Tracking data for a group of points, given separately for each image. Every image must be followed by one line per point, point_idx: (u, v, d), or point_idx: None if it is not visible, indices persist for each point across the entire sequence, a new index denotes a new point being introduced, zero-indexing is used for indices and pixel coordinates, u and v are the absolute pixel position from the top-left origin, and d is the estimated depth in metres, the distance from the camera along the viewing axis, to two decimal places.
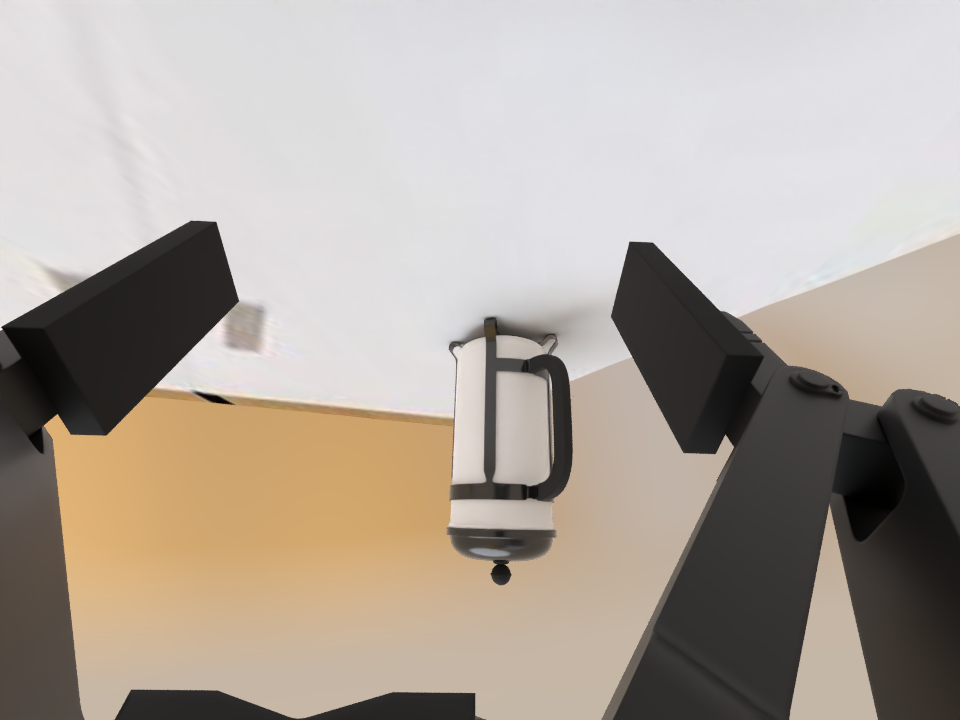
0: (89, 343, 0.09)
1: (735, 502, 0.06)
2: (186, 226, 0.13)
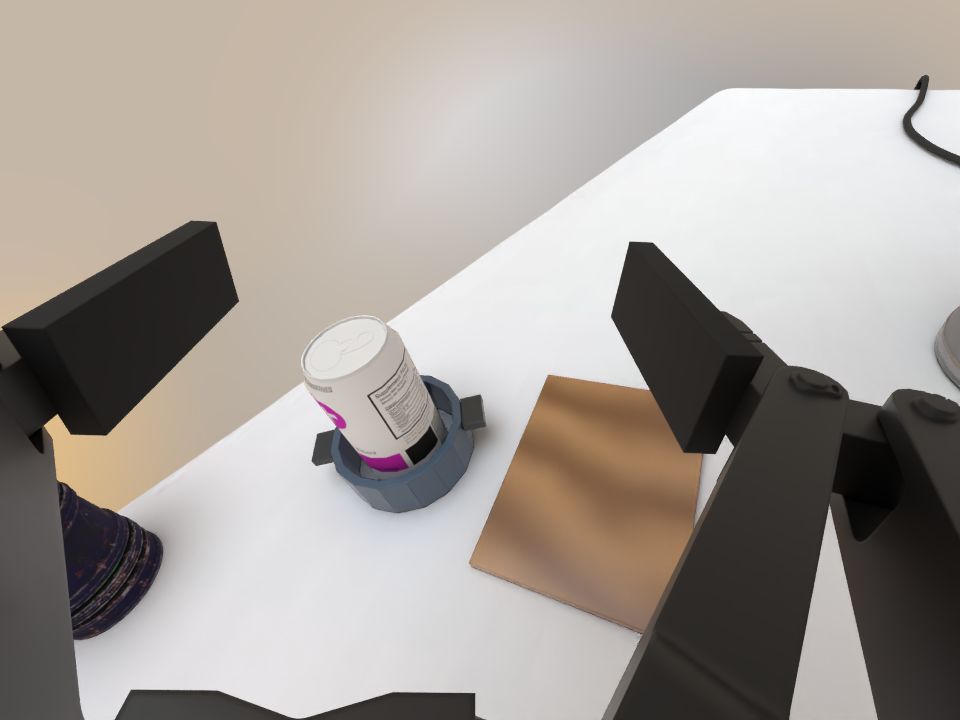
0: (89, 343, 0.09)
1: (734, 502, 0.06)
2: (186, 226, 0.13)
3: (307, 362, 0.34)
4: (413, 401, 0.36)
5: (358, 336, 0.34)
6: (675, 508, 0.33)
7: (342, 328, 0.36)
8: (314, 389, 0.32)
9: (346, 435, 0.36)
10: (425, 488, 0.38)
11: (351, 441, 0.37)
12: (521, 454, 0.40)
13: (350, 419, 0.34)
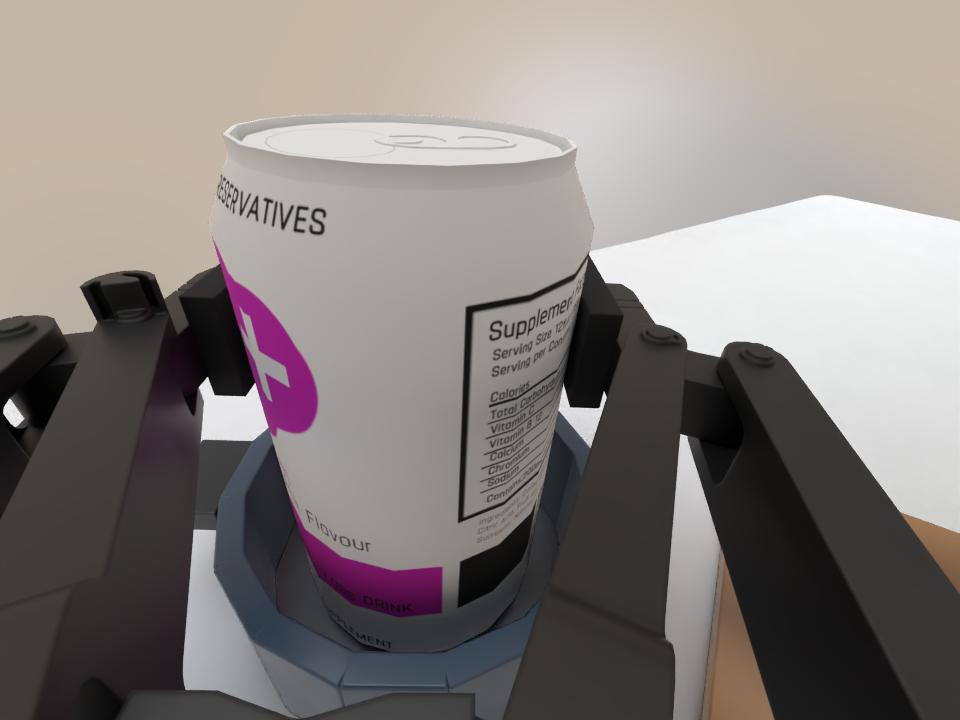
0: None
1: (606, 452, 0.06)
2: None
3: (253, 138, 0.09)
4: (551, 412, 0.11)
5: (459, 138, 0.10)
6: None
7: (399, 126, 0.11)
8: (242, 217, 0.07)
9: (293, 461, 0.10)
10: (484, 705, 0.11)
11: (300, 487, 0.11)
12: (738, 642, 0.15)
13: (344, 398, 0.08)
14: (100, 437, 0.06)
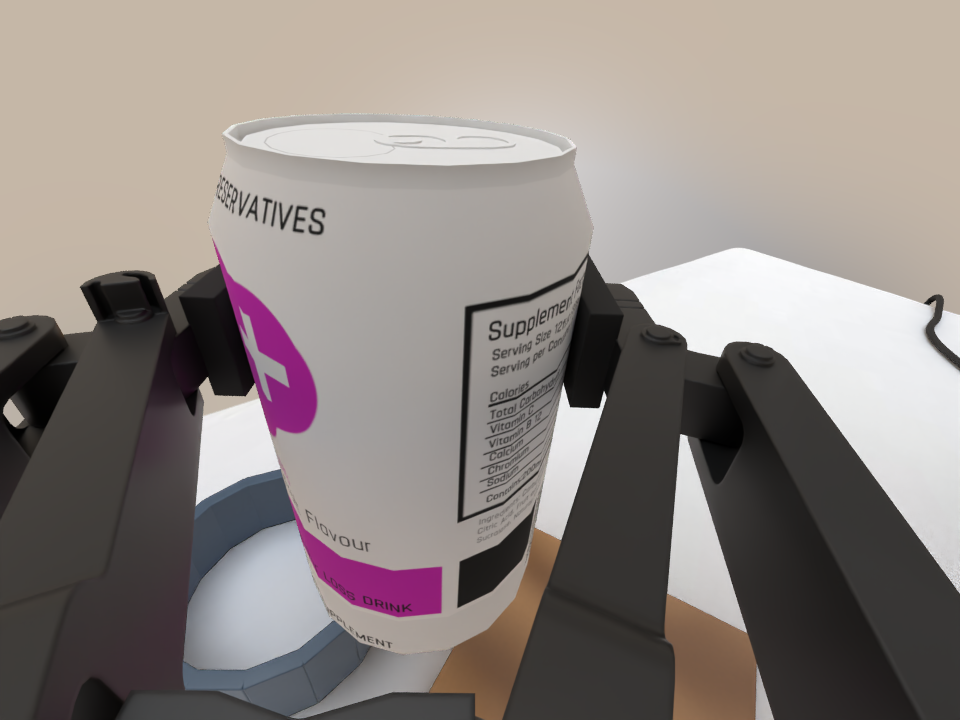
0: None
1: (606, 452, 0.06)
2: None
3: (252, 138, 0.09)
4: (550, 412, 0.11)
5: (458, 138, 0.10)
6: None
7: (399, 126, 0.11)
8: (242, 217, 0.07)
9: (292, 461, 0.10)
10: (277, 698, 0.21)
11: (300, 486, 0.11)
12: (459, 660, 0.24)
13: (343, 398, 0.08)
14: (100, 437, 0.06)
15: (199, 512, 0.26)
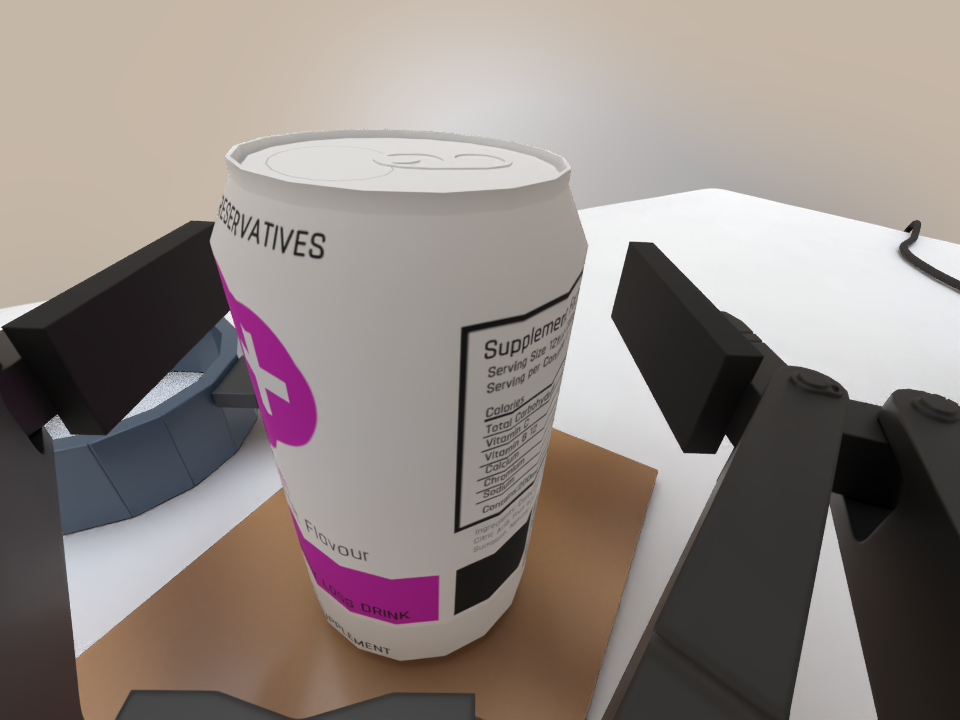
0: (89, 343, 0.09)
1: (735, 502, 0.06)
2: (186, 226, 0.13)
3: (254, 158, 0.09)
4: (546, 424, 0.11)
5: (455, 156, 0.10)
6: (556, 667, 0.15)
7: (398, 142, 0.12)
8: (244, 239, 0.07)
9: (292, 473, 0.10)
10: (65, 491, 0.18)
11: (299, 497, 0.11)
12: None
13: (342, 414, 0.08)
14: None
15: None
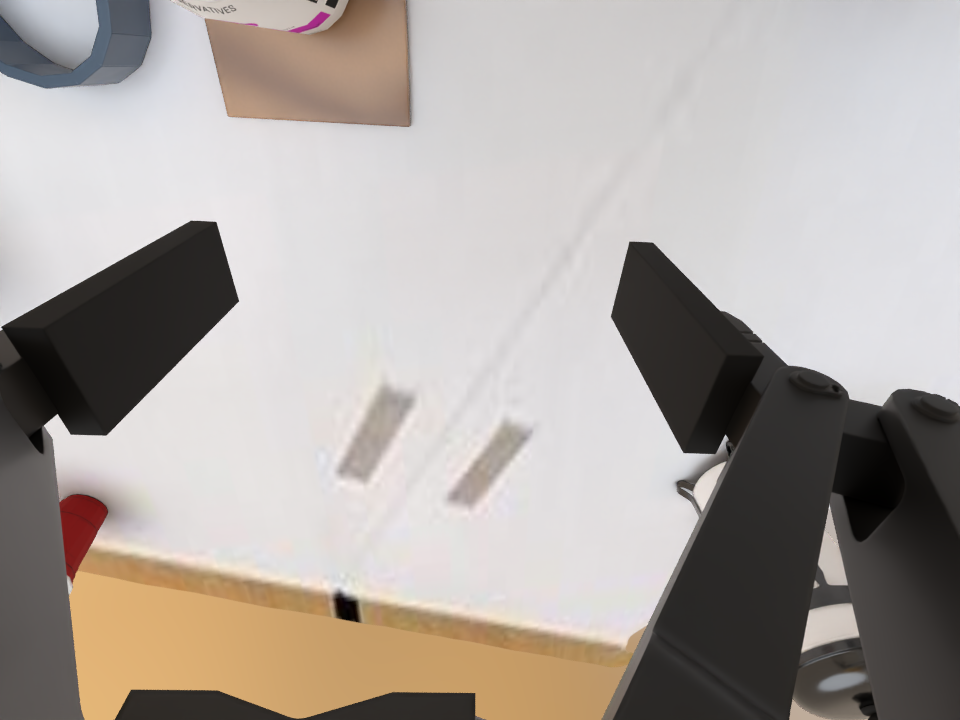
0: (89, 343, 0.09)
1: (735, 502, 0.06)
2: (186, 226, 0.13)
3: None
4: None
5: None
6: None
7: None
8: (202, 11, 0.21)
9: (251, 25, 0.26)
10: (125, 53, 0.33)
11: (257, 26, 0.27)
12: None
13: (265, 20, 0.24)
14: None
15: None
